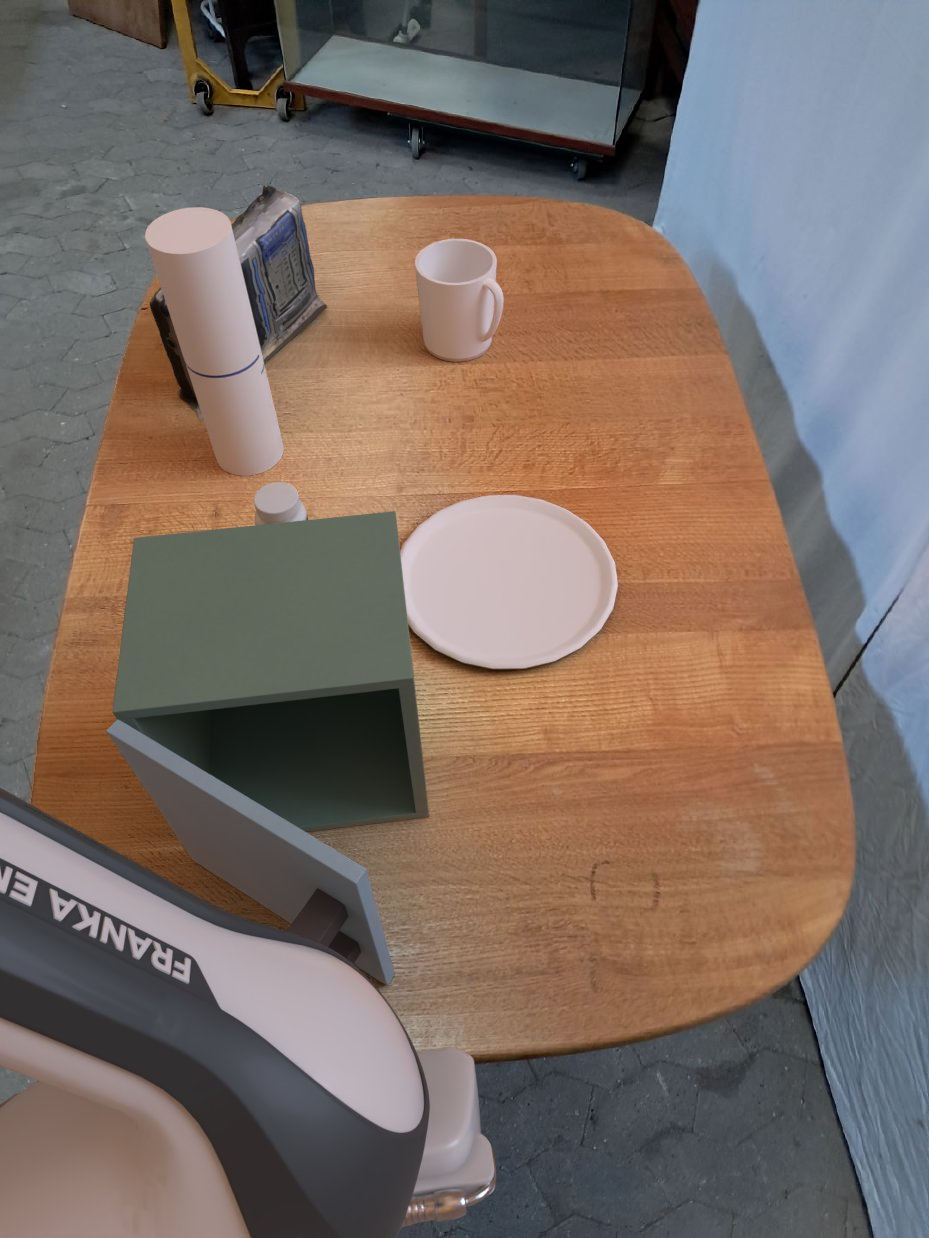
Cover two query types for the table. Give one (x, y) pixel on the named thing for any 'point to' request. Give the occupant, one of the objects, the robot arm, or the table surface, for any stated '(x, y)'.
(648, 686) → the table surface
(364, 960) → the cabinet door
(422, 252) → the mug
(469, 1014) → the table surface
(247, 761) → the cupboard
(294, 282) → the radio
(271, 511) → the pill bottle
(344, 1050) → the robot arm
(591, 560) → the plate
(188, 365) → the cylindrical container
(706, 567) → the table surface
